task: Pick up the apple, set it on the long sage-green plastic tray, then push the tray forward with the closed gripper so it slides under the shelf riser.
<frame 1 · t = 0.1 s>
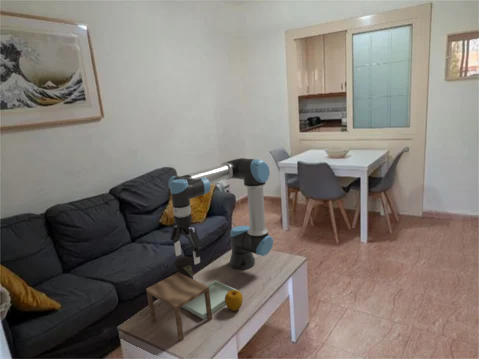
hand: (187, 259, 151), 28 cm above the table, fingers open, 13 cm apart
riser: (181, 319, 153), on the table
tray: (209, 298, 165), point 2 cm above the table, slide at 0.0 cm
container: (187, 294, 173), on the table
apple: (234, 308, 159), on the table
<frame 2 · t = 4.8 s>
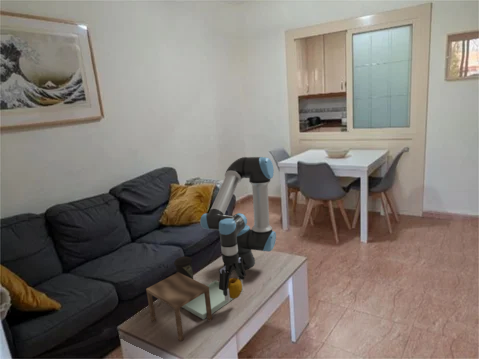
hand: (234, 295, 158), 6 cm above the table, fingers closed on apple, 9 cm apart
apple: (234, 296, 158), point 6 cm above the table, touching gripper
everything else where it was.
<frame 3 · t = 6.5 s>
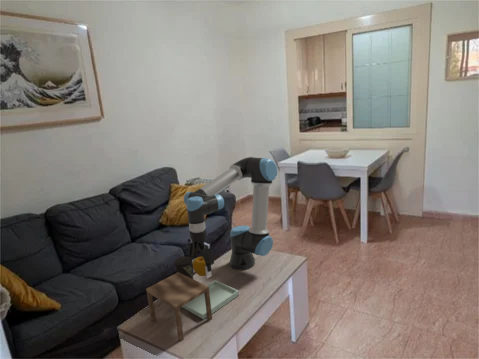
hand: (202, 274, 160), 16 cm above the table, fingers closed on apple, 9 cm apart
apple: (202, 275, 160), point 16 cm above the table, touching gripper
everything else where it was.
when the fingers open (3 cm above the table, at t = 8.3 s): apple drops 2 cm, resting on tray.
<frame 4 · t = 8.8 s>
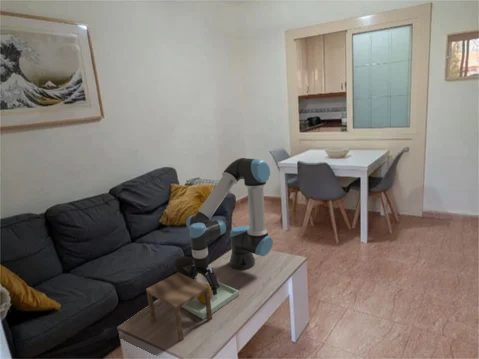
hand: (204, 295, 163), 5 cm above the table, fingers open, 13 cm apart
tray: (209, 298, 165), point 2 cm above the table, slide at 0.1 cm, touching apple
apple: (204, 302, 164), point 1 cm above the table, touching tray
everything else where it was.
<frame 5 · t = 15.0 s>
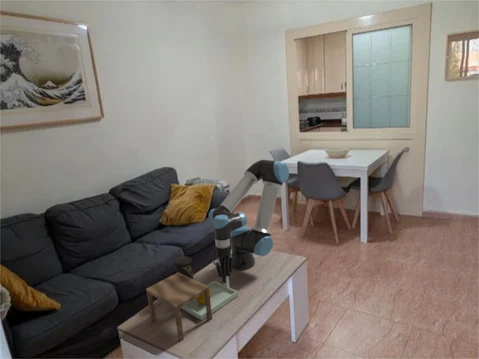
hand: (226, 287, 174), 2 cm above the table, fingers closed
tray: (208, 299, 165), point 2 cm above the table, slide at 0.9 cm, touching apple, gripper
everything else where it was.
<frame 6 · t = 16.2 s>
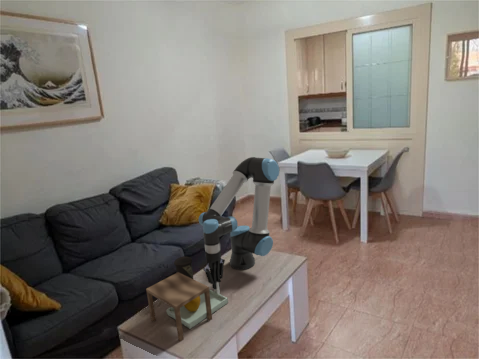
hand: (216, 293, 169), 2 cm above the table, fingers closed
tray: (197, 306, 160), point 2 cm above the table, slide at 7.9 cm, touching apple, gripper
apple: (192, 310, 158), point 1 cm above the table, touching tray
everything else where it was.
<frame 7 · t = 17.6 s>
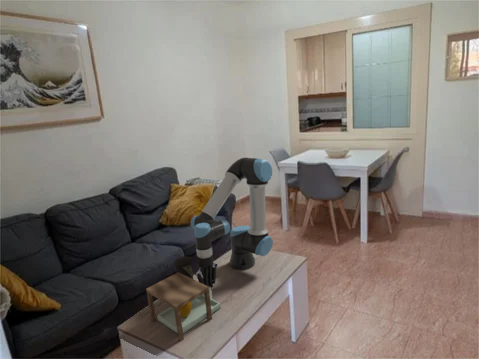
hand: (209, 298, 165), 1 cm above the table, fingers closed
tray: (189, 311, 156), point 2 cm above the table, slide at 13.1 cm, touching apple, gripper
apple: (183, 315, 154), point 1 cm above the table, touching tray
everything else where it was.
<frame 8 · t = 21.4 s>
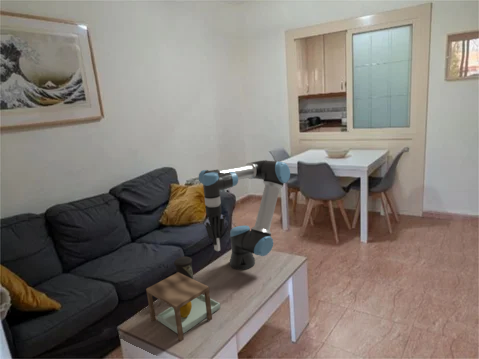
hand: (217, 249, 166), 24 cm above the table, fingers closed
tray: (189, 311, 156), point 2 cm above the table, slide at 13.2 cm, touching apple
everything else where it was.
at the end: tray slide at 13.2 cm; apple inside the target area on the tray (3.1 cm from its centre), point 0.9 cm above the tray's base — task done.
